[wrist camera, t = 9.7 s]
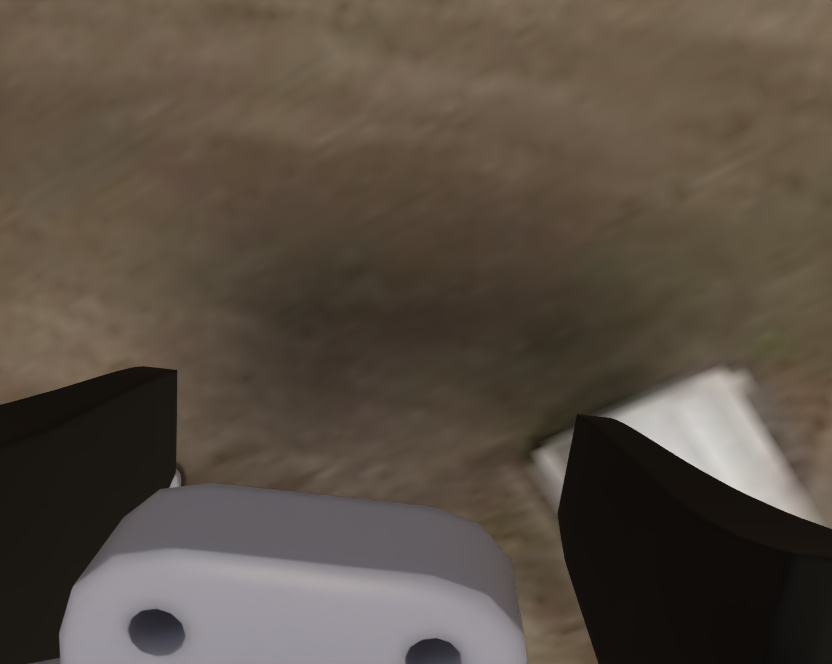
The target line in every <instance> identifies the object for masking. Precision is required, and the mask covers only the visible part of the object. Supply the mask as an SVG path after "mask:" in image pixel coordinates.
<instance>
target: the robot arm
mask: <svg viewBox="0 0 832 664" xmlns="http://www.w3.org/2000/svg"><path fill="white" fill-rule="evenodd" d="M176 431H177V370H172V369H163V368H154V367H145V366H142V367H133V368H128V369H124V370H120V371H116V372H113V373H109V374H106V375H102V376H99V377H96V378H93V379H89V380H86V381H83V382H80V383H76V384H73V385H70V386H67V387H63V388H60V389H57V390H53V391H50V392H46V393H43V394H39V395H35V396H32V397H28V398H24V399H21V400H17V401H13V402H10V403H6V404H2V405H0V664H528V662H527V654H526V646H525V639H524V632H523V626H522V621H521V615H520V609H519V604H518V598H517V593H516V587H515V581H514V576H513V570H512V565H511V559H510V558H509V556H508V555H507V554H506V553H505V552H504V551H503V550H502V548H501V547H500V546H499V545H498V544H497V543H496V542H495V540H494V539H493V538H492V537H491V536H490V535H489V534H488V532H487V531H486V530H485V529H484V528H483V527H482V526H481V524H480V523H477V522H474V521H471V520H468V519H466V518H463V517H460V516H457V515H454V514H452V513H449V512H446V511H443V510H440V509H437V508H435V507H432V506H424V505H414V504H405V503H396V502H386V501H377V500H368V499H359V498H349V497H340V496H331V495H321V494H312V493H303V492H294V491H284V490H275V489H266V488H257V487H247V486H238V485H229V484H219V483H204V484H196V485H188V486H181V475H180V473H179V471H178V470H177V469H176ZM558 520H559V527H560V534H561V540H562V546H563V552H564V558H565V562H566V565H567V568H568V571H569V575H570V578H571V581H572V584H573V587H574V590H575V593H576V597H577V600H578V603H579V606H580V609H581V612H582V615H583V618H584V621H585V624H586V627H587V630H588V633H589V636H590V639H591V642H592V645H593V648H594V651H595V654H596V657H597V660H598V664H832V529H830V528H827V527H824V526H822V525H819V524H816V523H813V522H810V521H808V520H805V519H802V518H799V517H797V516H794V515H792V514H789V513H787V512H784V511H782V510H780V509H777V508H775V507H773V506H771V505H768V504H766V503H764V502H762V501H760V500H757V499H755V498H753V497H751V496H748V495H746V494H744V493H742V492H740V491H738V490H736V489H734V488H732V487H730V486H728V485H726V484H725V483H723V482H721V481H719V480H717V479H716V478H714V477H712V476H710V475H708V474H706V473H705V472H703V471H701V470H699V469H698V468H696V467H694V466H693V465H691V464H689V463H687V462H686V461H684V460H683V459H681V458H679V457H678V456H676V455H674V454H673V453H671V452H670V451H668V450H666V449H665V448H663V447H662V446H660V445H658V444H657V443H655V442H654V441H652V440H650V439H649V438H647V437H646V436H644V435H642V434H641V433H639V432H638V431H636V430H634V429H633V428H631V427H629V426H627V425H626V424H624V423H622V422H620V421H618V420H615V419H612V418H606V417H597V416H588V415H579V414H577V417H576V422H575V427H574V433H573V438H572V443H571V448H570V453H569V458H568V463H567V468H566V474H565V479H564V484H563V489H562V494H561V499H560V504H559V509H558Z"/></svg>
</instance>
